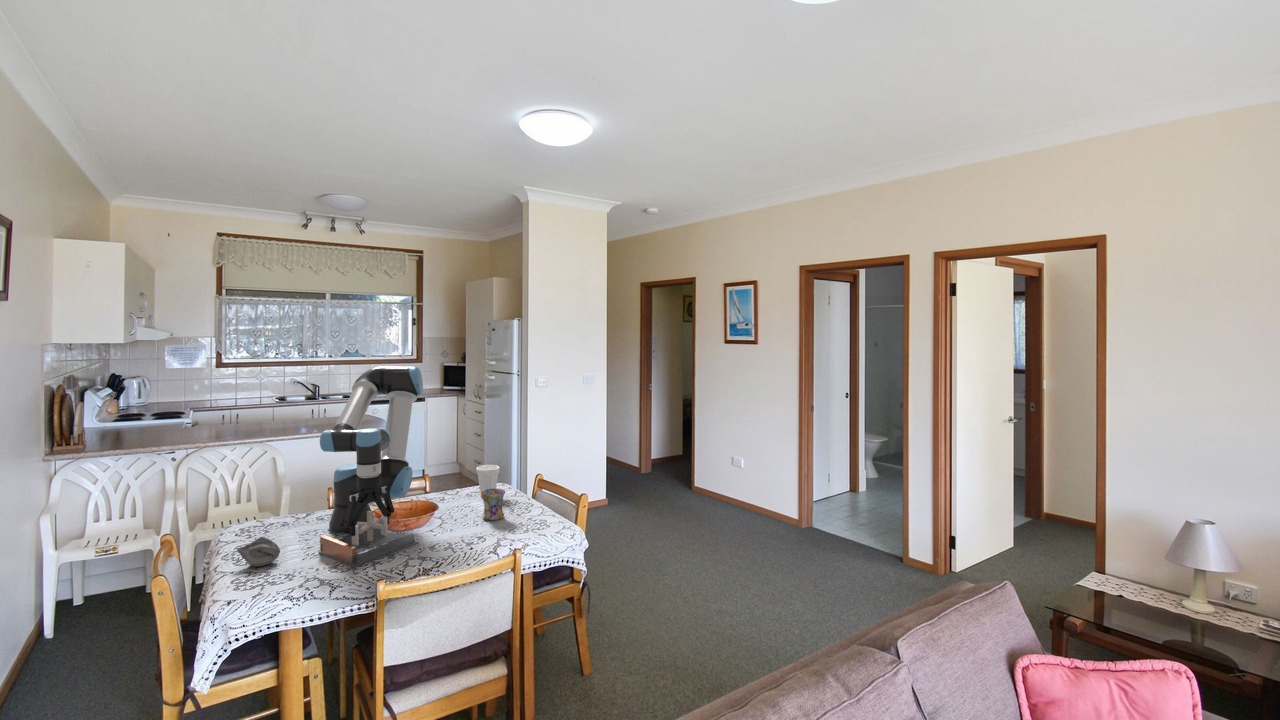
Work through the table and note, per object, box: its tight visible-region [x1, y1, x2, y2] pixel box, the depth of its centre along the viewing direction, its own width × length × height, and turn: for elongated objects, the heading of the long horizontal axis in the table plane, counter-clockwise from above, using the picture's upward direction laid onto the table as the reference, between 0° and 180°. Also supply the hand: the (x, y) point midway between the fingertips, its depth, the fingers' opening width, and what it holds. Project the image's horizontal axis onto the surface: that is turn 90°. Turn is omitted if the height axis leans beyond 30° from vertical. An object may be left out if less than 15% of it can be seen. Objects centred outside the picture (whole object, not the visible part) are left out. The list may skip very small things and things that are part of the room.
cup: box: [476, 464, 501, 498], centre depth 260 cm, size 10×10×13 cm
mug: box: [480, 487, 506, 521], centre depth 233 cm, size 12×9×11 cm
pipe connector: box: [356, 510, 385, 541], centre depth 200 cm, size 10×10×10 cm
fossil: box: [237, 536, 281, 567], centre depth 186 cm, size 11×9×8 cm
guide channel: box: [318, 529, 420, 569], centre depth 200 cm, size 24×20×6 cm
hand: (370, 539), depth 200 cm, fingers closed on pipe connector, 10 cm apart
